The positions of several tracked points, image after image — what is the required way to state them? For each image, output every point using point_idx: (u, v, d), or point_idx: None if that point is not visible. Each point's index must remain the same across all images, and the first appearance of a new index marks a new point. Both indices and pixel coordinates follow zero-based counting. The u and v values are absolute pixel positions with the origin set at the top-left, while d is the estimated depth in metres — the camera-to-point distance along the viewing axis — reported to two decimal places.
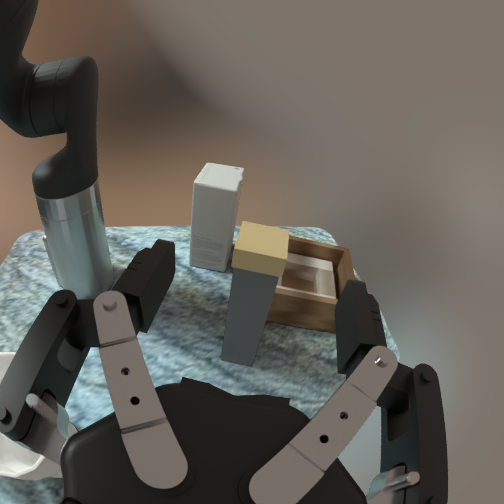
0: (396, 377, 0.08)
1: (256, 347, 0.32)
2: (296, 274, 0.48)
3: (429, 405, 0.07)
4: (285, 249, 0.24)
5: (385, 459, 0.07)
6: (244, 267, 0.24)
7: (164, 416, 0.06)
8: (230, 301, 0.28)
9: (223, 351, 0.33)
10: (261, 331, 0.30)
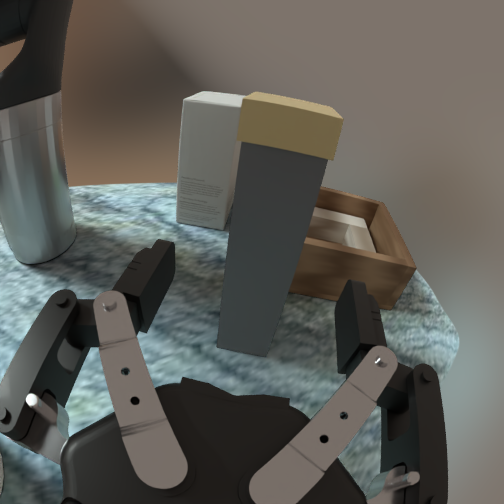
0: (396, 377, 0.08)
1: (276, 321, 0.19)
2: (320, 233, 0.35)
3: (429, 405, 0.07)
4: (335, 113, 0.12)
5: (385, 459, 0.07)
6: (262, 139, 0.12)
7: (164, 416, 0.06)
8: (233, 224, 0.15)
9: (220, 331, 0.21)
10: (287, 288, 0.17)
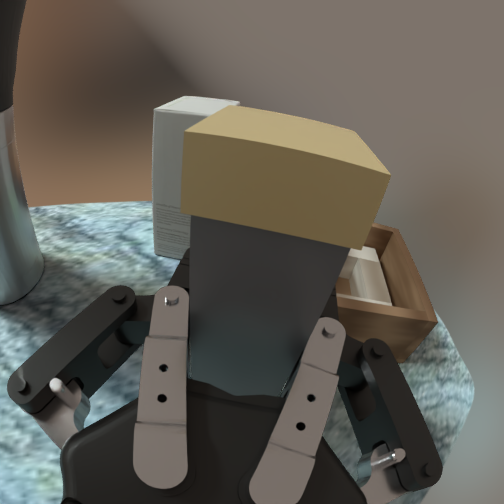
0: (345, 350, 0.09)
1: None
2: None
3: (390, 379, 0.08)
4: (369, 154, 0.06)
5: (361, 439, 0.08)
6: (227, 213, 0.06)
7: (184, 422, 0.06)
8: (194, 327, 0.10)
9: None
10: (276, 392, 0.12)
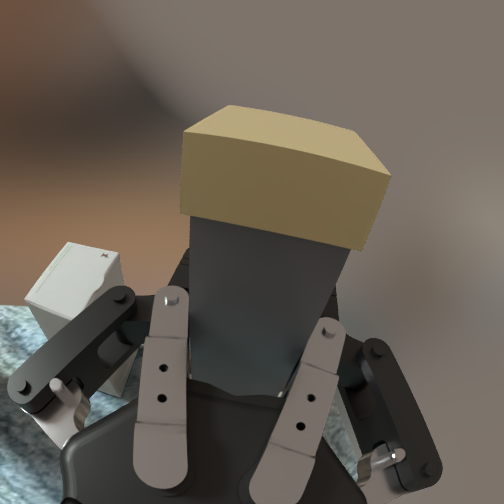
0: (346, 350, 0.09)
1: None
2: None
3: (390, 379, 0.08)
4: (369, 154, 0.06)
5: (362, 439, 0.08)
6: (226, 213, 0.06)
7: (184, 422, 0.06)
8: (193, 328, 0.10)
9: None
10: (276, 392, 0.12)
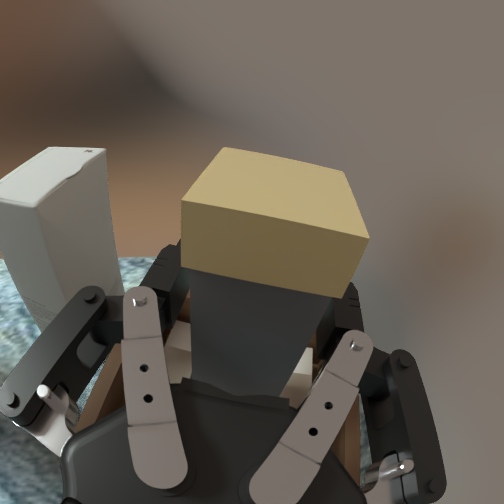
0: (372, 362, 0.09)
1: None
2: None
3: (411, 391, 0.07)
4: (353, 209, 0.07)
5: (374, 448, 0.08)
6: (222, 268, 0.07)
7: (174, 418, 0.06)
8: (195, 353, 0.10)
9: None
10: None
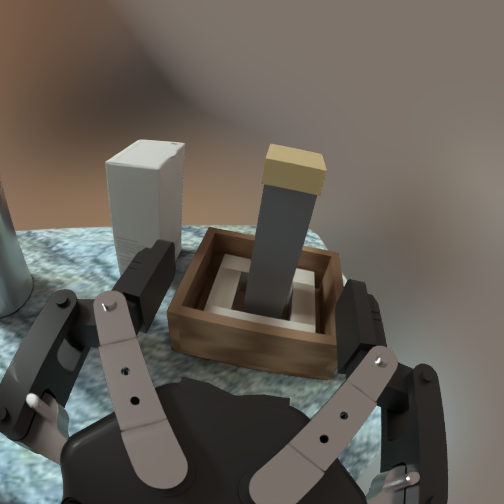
0: (396, 377, 0.08)
1: (284, 301, 0.27)
2: None
3: (429, 405, 0.07)
4: (322, 164, 0.20)
5: (385, 459, 0.07)
6: (277, 183, 0.20)
7: (164, 416, 0.06)
8: (257, 234, 0.23)
9: (244, 310, 0.29)
10: (292, 277, 0.26)
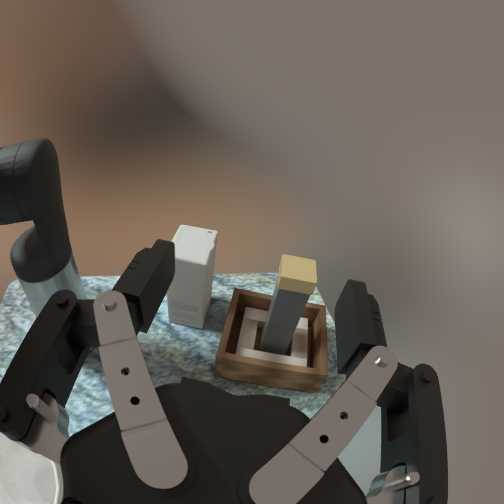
0: (396, 377, 0.08)
1: (287, 345, 0.42)
2: None
3: (429, 405, 0.07)
4: (314, 275, 0.34)
5: (385, 459, 0.07)
6: (286, 288, 0.35)
7: (164, 416, 0.06)
8: (272, 311, 0.38)
9: (261, 349, 0.43)
10: (293, 332, 0.40)
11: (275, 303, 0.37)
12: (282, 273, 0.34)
